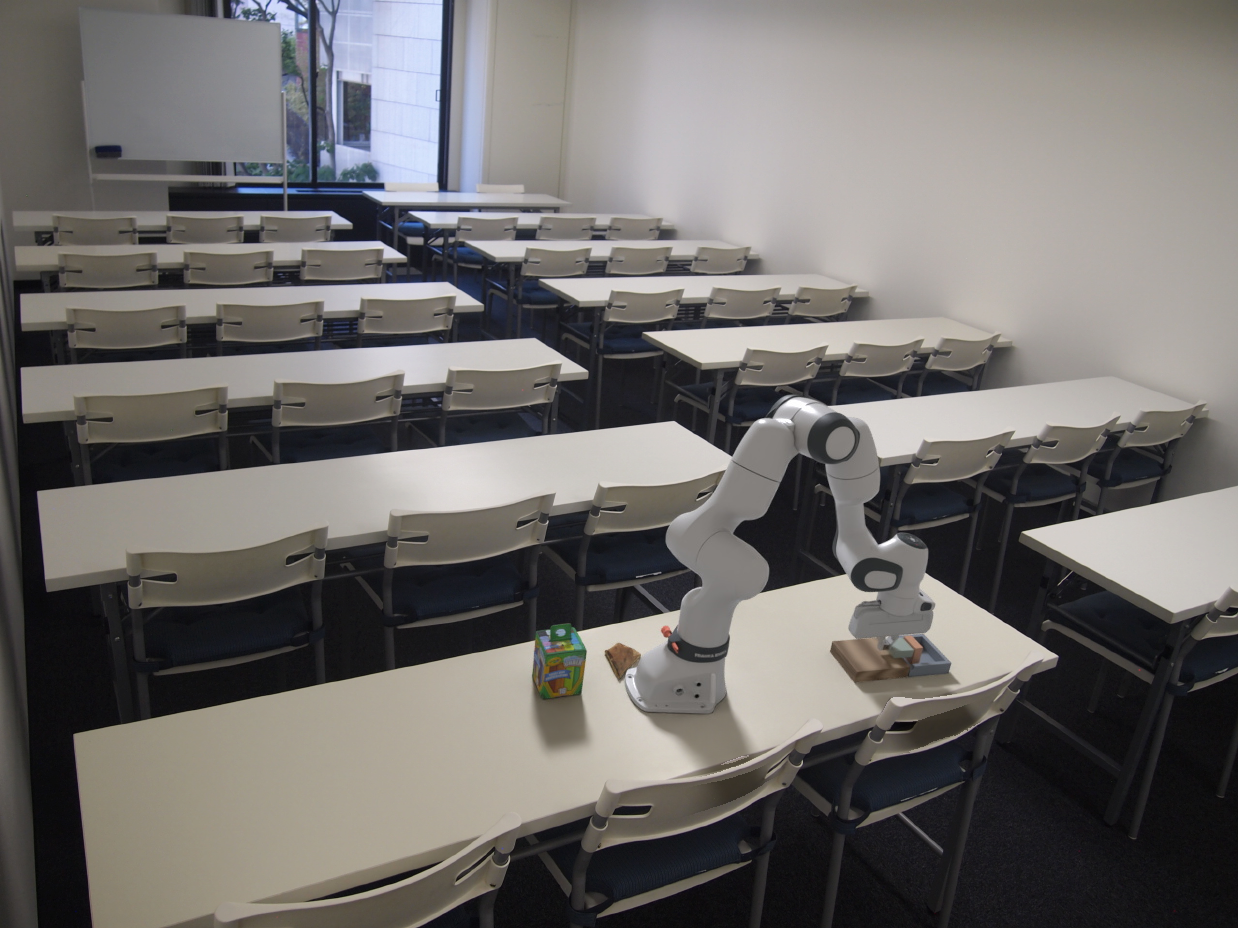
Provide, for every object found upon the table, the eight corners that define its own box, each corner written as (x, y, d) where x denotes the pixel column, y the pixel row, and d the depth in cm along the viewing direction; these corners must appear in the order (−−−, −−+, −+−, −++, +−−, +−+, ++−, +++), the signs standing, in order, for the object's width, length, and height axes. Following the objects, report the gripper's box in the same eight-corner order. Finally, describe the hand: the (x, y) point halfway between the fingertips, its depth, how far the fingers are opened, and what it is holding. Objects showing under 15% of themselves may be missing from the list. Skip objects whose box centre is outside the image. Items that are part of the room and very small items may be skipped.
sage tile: (893, 657, 216) (895, 650, 215) (882, 645, 220) (884, 638, 219) (911, 657, 217) (914, 650, 216) (900, 644, 221) (902, 637, 221)
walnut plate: (854, 682, 210) (857, 671, 209) (829, 651, 221) (832, 641, 220) (907, 677, 214) (910, 666, 213) (880, 647, 225) (883, 636, 224)
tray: (908, 677, 214) (911, 666, 213) (881, 646, 225) (884, 636, 224) (948, 673, 218) (951, 662, 216) (920, 643, 228) (923, 633, 227)
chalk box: (541, 700, 193) (546, 642, 187) (530, 674, 201) (535, 617, 195) (583, 694, 196) (589, 637, 190) (570, 668, 204) (576, 612, 198)
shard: (618, 681, 202) (619, 675, 202) (589, 668, 206) (589, 662, 205) (642, 658, 211) (642, 652, 210) (613, 646, 214) (614, 639, 214)
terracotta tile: (915, 648, 216) (922, 647, 217) (904, 636, 220) (911, 635, 221) (911, 665, 218) (918, 664, 219) (900, 653, 222) (907, 652, 223)
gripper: (863, 609, 206) (851, 660, 211) (942, 603, 211) (927, 653, 217) (850, 594, 211) (838, 644, 217) (926, 589, 217) (913, 637, 223)
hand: (883, 648), depth 217 cm, fingers closed
